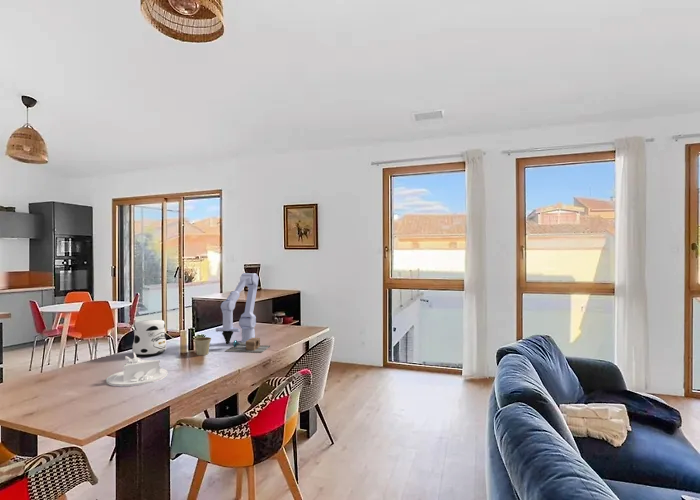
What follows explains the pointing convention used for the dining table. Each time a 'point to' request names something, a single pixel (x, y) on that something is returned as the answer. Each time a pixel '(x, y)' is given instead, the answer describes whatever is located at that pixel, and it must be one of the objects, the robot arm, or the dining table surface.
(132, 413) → the dining table surface
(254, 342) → the hitch block
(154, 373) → the dish
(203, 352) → the flower pot
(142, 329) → the milk container
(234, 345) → the pin
